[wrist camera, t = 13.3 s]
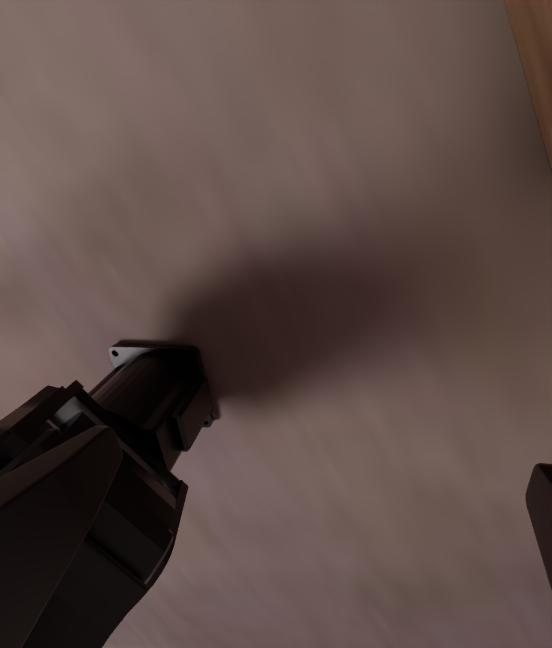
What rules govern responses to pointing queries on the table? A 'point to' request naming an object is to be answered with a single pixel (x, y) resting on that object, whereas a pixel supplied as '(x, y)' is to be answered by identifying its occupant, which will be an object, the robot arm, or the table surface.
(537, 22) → the cold frame
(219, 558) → the table surface
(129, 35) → the table surface
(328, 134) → the table surface
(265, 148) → the table surface
